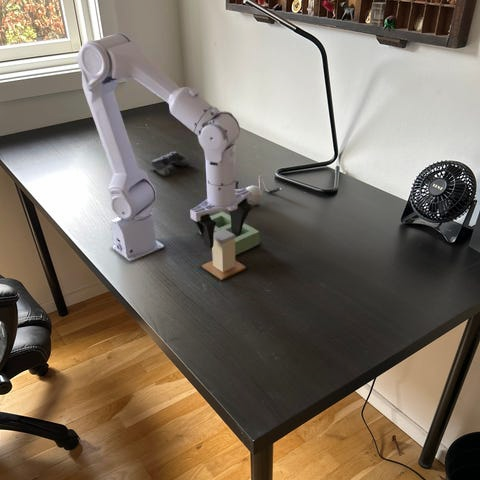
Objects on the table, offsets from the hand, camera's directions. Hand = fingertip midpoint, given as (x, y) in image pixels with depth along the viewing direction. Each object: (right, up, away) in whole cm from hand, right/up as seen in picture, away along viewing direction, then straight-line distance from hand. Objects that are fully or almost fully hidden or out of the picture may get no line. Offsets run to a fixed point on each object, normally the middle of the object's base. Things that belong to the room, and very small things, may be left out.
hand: (222, 239), depth 106 cm
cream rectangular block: (0, -5, +4) cm, 7 cm away
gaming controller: (-18, +30, +48) cm, 59 cm away
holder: (+1, +3, +14) cm, 15 cm away
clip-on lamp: (+6, +16, +31) cm, 36 cm away
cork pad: (0, -5, +5) cm, 7 cm away
